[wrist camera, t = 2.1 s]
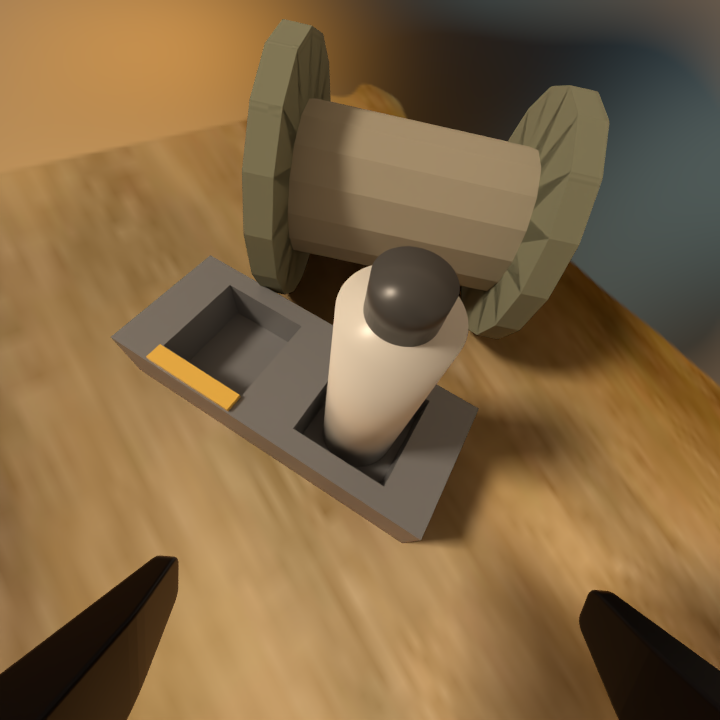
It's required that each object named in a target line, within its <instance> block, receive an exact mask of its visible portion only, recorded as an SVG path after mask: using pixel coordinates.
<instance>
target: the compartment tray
mask: <svg viewBox="0 0 720 720" xmlns="http://www.w3.org/2000/svg"><path fill="white" fill-rule="evenodd" d="M332 334H333V325H331V324H330V323H328V322H326V321H324V320H323V319H321V318H319V317H317V316H316V315H314V314H312V313H310V312H309V311H307V310H305V309H303V308H302V307H300V306H298V305H296V304H295V303H293V302H291V301H289V300H288V299H286V298H284V297H282V296H281V295H279V294H277V293H275V292H274V291H272V290H270V289H268V288H267V287H265V286H260V285H259V283H258V282H256V281H254V280H253V279H251V278H249V277H247V276H246V275H244V274H242V273H240V272H239V271H237V270H235V269H233V268H232V267H230V266H228V265H226V264H225V263H223V262H221V261H219V260H218V259H216V258H214V257H212V256H211V255H210V256H209V257H208V258H207V259H205V260H204V261H203V262H202V263H200V264H199V265H198V266H197V267H196V268H194V269H193V270H192V271H191V272H190V273H188V274H187V275H186V276H185V277H183V278H182V279H181V280H180V281H179V282H177V283H176V284H175V285H174V286H172V287H171V288H170V289H169V290H168V291H166V292H165V293H164V294H163V295H161V296H160V297H159V298H158V299H157V300H155V301H154V302H153V303H152V304H150V305H149V306H148V307H147V308H146V309H144V310H143V311H142V312H141V313H139V314H138V315H137V316H136V317H135V318H133V319H132V320H131V321H130V322H128V323H127V324H126V325H125V326H124V327H122V328H121V329H120V330H119V331H117V332H116V333H115V334H114V335H113V336H111V338H112V339H113V340H114V341H115V342H116V344H117V345H118V346H119V347H120V348H121V349H122V350H123V351H124V352H125V353H126V354H127V356H128V357H129V358H130V359H131V360H132V361H133V362H134V363H135V364H136V365H137V367H138V368H139V369H140V370H142V371H143V372H145V373H146V374H148V375H149V376H151V377H152V378H154V379H155V380H157V381H158V382H160V383H161V384H163V385H164V386H166V387H167V388H169V389H170V390H172V391H173V392H175V393H176V394H178V395H179V396H181V397H183V398H184V399H186V400H187V401H189V402H190V403H192V404H193V405H195V406H196V407H198V408H199V409H201V410H202V411H204V412H205V413H207V414H208V415H210V416H211V417H213V418H214V419H216V420H217V421H219V422H220V423H222V424H223V425H225V426H226V427H228V428H229V429H231V430H232V431H234V432H235V433H237V434H238V435H240V436H241V437H243V438H244V439H246V440H247V441H249V442H250V443H252V444H253V445H255V446H256V447H258V448H260V449H261V450H263V451H264V452H266V453H267V454H269V455H270V456H272V457H273V458H275V459H276V460H278V461H279V462H281V463H282V464H284V465H285V466H287V467H288V468H290V469H291V470H293V471H294V472H296V473H297V474H299V475H300V476H302V477H303V478H305V479H306V480H308V481H309V482H311V483H312V484H314V485H315V486H317V487H318V488H320V489H321V490H323V491H324V492H326V493H327V494H329V495H330V496H332V497H334V498H335V499H337V500H338V501H340V502H341V503H343V504H344V505H346V506H347V507H349V508H350V509H352V510H353V511H355V512H356V513H358V514H359V515H361V516H362V517H364V518H365V519H367V520H368V521H370V522H371V523H373V524H374V525H376V526H377V527H379V528H380V529H382V530H383V531H385V532H386V533H388V534H389V535H391V536H392V537H394V538H395V539H397V540H398V541H400V542H401V543H405V542H412V541H419V540H421V539H422V537H423V535H424V532H425V530H426V528H427V525H428V523H429V521H430V519H431V516H432V514H433V512H434V510H435V507H436V505H437V503H438V500H439V498H440V496H441V494H442V491H443V489H444V487H445V485H446V482H447V480H448V478H449V475H450V473H451V471H452V469H453V466H454V464H455V462H456V459H457V457H458V455H459V453H460V450H461V448H462V446H463V444H464V441H465V439H466V437H467V434H468V432H469V430H470V428H471V425H472V423H473V421H474V419H475V416H476V414H477V412H478V408H477V407H475V406H473V405H471V404H470V403H468V402H466V401H464V400H463V399H461V398H459V397H457V396H456V395H454V394H452V393H450V392H449V391H447V390H445V389H443V388H442V387H440V386H438V385H435V387H434V388H433V389H432V391H431V392H430V394H429V395H428V396H427V398H426V399H425V400H424V402H423V403H422V404H421V406H420V407H419V409H418V410H417V411H416V413H415V414H414V415H413V417H412V418H411V420H410V421H409V422H408V424H407V425H406V426H405V428H404V429H403V430H402V432H401V433H400V435H399V436H398V437H397V439H396V440H395V441H394V443H393V444H392V445H391V447H390V448H389V450H388V451H387V452H386V454H385V455H384V456H383V457H382V458H381V459H380V460H378V461H376V462H375V463H373V464H370V465H366V466H352V465H349V464H348V463H346V462H345V461H343V460H342V459H340V458H338V457H337V456H335V455H334V454H332V453H331V452H330V451H329V449H328V448H327V446H326V444H325V441H324V436H323V425H324V415H325V405H326V395H327V385H328V375H329V364H330V354H331V344H332Z"/></svg>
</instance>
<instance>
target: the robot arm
mask: <svg viewBox="0 0 720 720" xmlns="http://www.w3.org/2000/svg"><path fill="white" fill-rule="evenodd" d="M177 593H178V559H177V558H176V557H171V556H156V557H154V558H152V559H151V560H150V561H148V562H147V563H146V564H144V565H143V566H142V567H141V568H139V569H138V570H137V571H135V572H134V573H133V574H131V575H130V576H129V577H127V578H126V579H125V580H123V581H122V582H121V583H119V584H118V585H117V586H116V587H114V588H113V589H112V590H110V591H109V592H108V593H106V594H105V595H104V596H102V597H101V598H100V599H98V600H97V601H96V602H94V603H93V604H92V605H91V606H89V607H88V608H87V609H85V610H84V611H83V612H81V613H80V614H79V615H77V616H76V617H75V618H73V619H72V620H71V621H70V622H68V623H67V624H66V625H64V626H63V627H62V628H60V629H59V630H58V631H56V632H55V633H54V634H52V635H51V636H50V637H48V638H47V639H46V640H45V641H43V642H42V643H41V644H39V645H38V646H37V647H35V648H34V649H33V650H31V651H30V652H29V653H27V654H26V655H25V656H23V657H22V658H21V659H20V660H18V661H17V662H16V663H14V664H13V665H12V666H10V667H9V668H8V669H6V670H5V671H4V672H2V673H1V674H0V720H127V718H128V716H129V714H130V712H131V710H132V708H133V706H134V704H135V701H136V699H137V697H138V695H139V693H140V690H141V688H142V685H143V683H144V680H145V678H146V675H147V673H148V670H149V668H150V665H151V662H152V660H153V657H154V655H155V652H156V650H157V647H158V644H159V642H160V639H161V637H162V634H163V632H164V629H165V626H166V624H167V621H168V619H169V616H170V613H171V611H172V608H173V606H174V603H175V600H176V597H177ZM579 624H580V629H581V632H582V634H583V636H584V639H585V641H586V644H587V646H588V648H589V651H590V653H591V655H592V658H593V660H594V663H595V665H596V667H597V670H598V672H599V675H600V677H601V679H602V682H603V684H604V687H605V689H606V691H607V694H608V696H609V698H610V701H611V703H612V705H613V708H614V710H615V712H616V714H617V717H618V719H619V720H720V671H719V670H718V669H717V668H715V667H714V666H712V665H711V664H710V663H708V662H707V661H706V660H704V659H703V658H701V657H700V656H699V655H697V654H696V653H695V652H693V651H692V650H691V649H689V648H688V647H686V646H685V645H684V644H682V643H681V642H680V641H678V640H677V639H675V638H674V637H673V636H671V635H670V634H669V633H667V632H666V631H664V630H663V629H662V628H660V627H659V626H658V625H656V624H655V623H653V622H652V621H651V620H649V619H648V618H647V617H645V616H644V615H643V614H641V613H640V612H638V611H637V610H636V609H634V608H633V607H632V606H630V605H629V604H627V603H626V602H625V601H623V600H622V599H621V598H619V597H618V596H616V595H615V594H614V593H612V592H609V591H601V590H592V591H591V592H589V594H588V596H587V599H586V601H585V604H584V606H583V609H582V611H581V614H580V617H579Z"/></svg>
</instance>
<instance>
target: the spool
mask: <svg viewBox="0 0 720 720" xmlns="http://www.w3.org/2000/svg"><path fill="white" fill-rule="evenodd" d="M608 129H609V119H608V117H607V114H606V112H605V109H604V106H603V104H602V101H601V98H600V95H599V93H598V92H597V91H592V90H588V89H584V88H579V87H575V86H571V85H568V86H551V87H550V88H549V89H548V90H547V91H546V92H545V93H544V94H543V95H542V96H541V97H540V98H539V99H538V100H537V101H536V102H535V103H534V104H533V105H532V106H531V107H530V108H529V109H528V111H527V112H526V114H525V115H524V117H523V118H522V120H521V122H520V123H519V125H518V126H517V128H516V129H515V131H514V133H513V134H512V136H511V137H510V139H509V141H508V142H507V141H503V140H498V139H494V138H489V137H485V136H480V135H476V134H472V133H467V132H463V131H458V130H454V129H449V128H445V127H441V126H436V125H432V124H427V123H422V122H418V121H414V120H409V119H405V118H401V117H396V116H392V115H387V114H383V113H379V112H374V111H370V110H365V109H361V108H356V107H352V106H348V105H343V104H339V103H334V102H330V76H329V60H328V55H327V51H326V46H325V41H324V36H323V33H321V32H320V31H319V30H317V29H316V28H314V27H313V26H311V25H306V24H302V23H298V22H294V21H289V20H285V19H282V21H281V22H280V24H279V25H278V26H277V27H276V29H275V30H274V31H273V33H272V34H271V35H270V37H269V38H268V40H267V41H266V42H265V45H264V49H263V53H262V56H261V60H260V64H259V67H258V71H257V74H256V78H255V82H254V85H253V89H252V93H251V96H250V102H249V111H248V120H247V129H246V139H245V148H244V158H243V167H242V189H243V228H244V238H245V243H246V248H247V253H248V258H249V262H250V267H251V272H252V275H253V276H254V278H255V279H256V281H257V282H258V283H259V285H260V286H265V287H267V288H268V289H270V290H272V291H274V292H275V293H280V294H287V293H290V292H293V291H294V290H295V288H296V287H297V285H298V283H299V281H300V280H301V278H302V276H303V273H304V270H305V267H306V264H307V261H308V258H309V255H310V253H311V254H316V255H320V256H325V257H330V258H334V259H339V260H344V261H348V262H353V263H358V264H362V265H367V266H371V265H373V263H374V261H375V260H376V258H377V257H378V256H379V255H381V254H382V253H383V252H385V251H387V250H389V249H392V248H396V247H402V246H412V247H419V248H423V249H426V250H429V251H431V252H433V253H435V254H437V255H439V256H440V257H442V258H443V259H444V260H445V261H447V262H448V263H449V264H450V265H451V267H452V268H453V269H454V271H455V273H456V274H457V277H458V279H459V284H460V286H461V301H462V303H463V305H464V307H465V310H466V313H467V317H468V325H469V326H468V330H470V331H472V332H473V333H475V334H476V335H480V336H484V337H489V338H494V339H500V338H502V337H505V336H507V335H509V334H512V333H514V332H517V331H519V330H520V329H521V328H522V327H523V326H524V325H525V324H526V323H527V322H528V320H529V319H530V318H531V317H532V316H533V315H534V314H535V313H536V312H537V311H538V310H539V309H540V308H541V306H542V305H543V304H544V303H545V302H546V301H547V300H548V299H549V297H550V295H551V293H552V292H553V290H554V288H555V286H556V285H557V283H558V281H559V279H560V278H561V276H562V274H563V272H564V271H565V269H566V267H567V265H568V264H569V262H570V260H571V258H572V257H573V255H574V253H575V251H576V250H577V248H578V246H579V244H580V241H581V238H582V235H583V232H584V230H585V227H586V224H587V221H588V218H589V215H590V213H591V210H592V207H593V204H594V201H595V199H596V196H597V193H598V190H599V187H600V184H601V182H602V179H603V170H604V162H605V154H606V144H607V137H608Z"/></svg>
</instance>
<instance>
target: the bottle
mask: <svg viewBox="0 0 720 720" xmlns="http://www.w3.org/2000/svg"><path fill="white" fill-rule="evenodd" d="M459 292H460V284H459V279H458V277H457V274H456V273H455V271H454V269H453V268H452V267H451V265H450V264H449V263H448V262H447V261H445V260H444V259H443V258H442V257H440V256H439V255H437V254H435V253H433V252H431V251H429V250H426V249H423V248H419V247H412V246H402V247H396V248H392V249H389V250H387V251H385V252H383V253H382V254H381V255H379V256H378V257H377V258H376V260H375V261H374V263H373V265H371V266H368V267H366V268H363V269H361V270H359V271H357V272H356V273H354V274H353V275H352V276H350V277H349V278H348V279H347V280H346V281H345V283H344V284H343V286H342V287H341V289H340V291H339V293H338V296H337V299H336V305H335V314H334V324H333V334H332V344H331V354H330V364H329V375H328V385H327V395H326V405H325V415H324V425H323V436H324V441H325V444H326V446H327V448H328V449H329V451H330V452H331V453H332V454H334V455H335V456H337V457H338V458H340V459H342V460H343V461H345V462H346V463H348V464H349V465H352V466H366V465H370V464H373V463H375V462H376V461H378V460H380V459H381V458H382V457H383V456H384V455H385V454H386V452H387V451H388V450H389V448H390V447H391V445H392V444H393V443H394V441H395V440H396V439H397V437H398V436H399V435H400V433H401V432H402V430H403V429H404V428H405V426H406V425H407V424H408V422H409V421H410V420H411V418H412V417H413V415H414V414H415V413H416V411H417V410H418V409H419V407H420V406H421V404H422V403H423V402H424V400H425V399H426V398H427V396H428V395H429V394H430V392H431V391H432V389H433V388H434V387H435V385H436V384H437V383H438V381H439V380H440V378H441V377H442V376H443V374H444V373H445V372H446V370H447V369H448V368H449V366H450V365H451V363H452V362H453V361H454V359H455V358H456V357H457V355H458V354H459V352H460V351H461V349H462V348H463V346H464V344H465V342H466V339H467V335H468V326H469V325H468V317H467V313H466V310H465V307H464V305H463V303H462V301H461V299H460V297H459Z"/></svg>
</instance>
